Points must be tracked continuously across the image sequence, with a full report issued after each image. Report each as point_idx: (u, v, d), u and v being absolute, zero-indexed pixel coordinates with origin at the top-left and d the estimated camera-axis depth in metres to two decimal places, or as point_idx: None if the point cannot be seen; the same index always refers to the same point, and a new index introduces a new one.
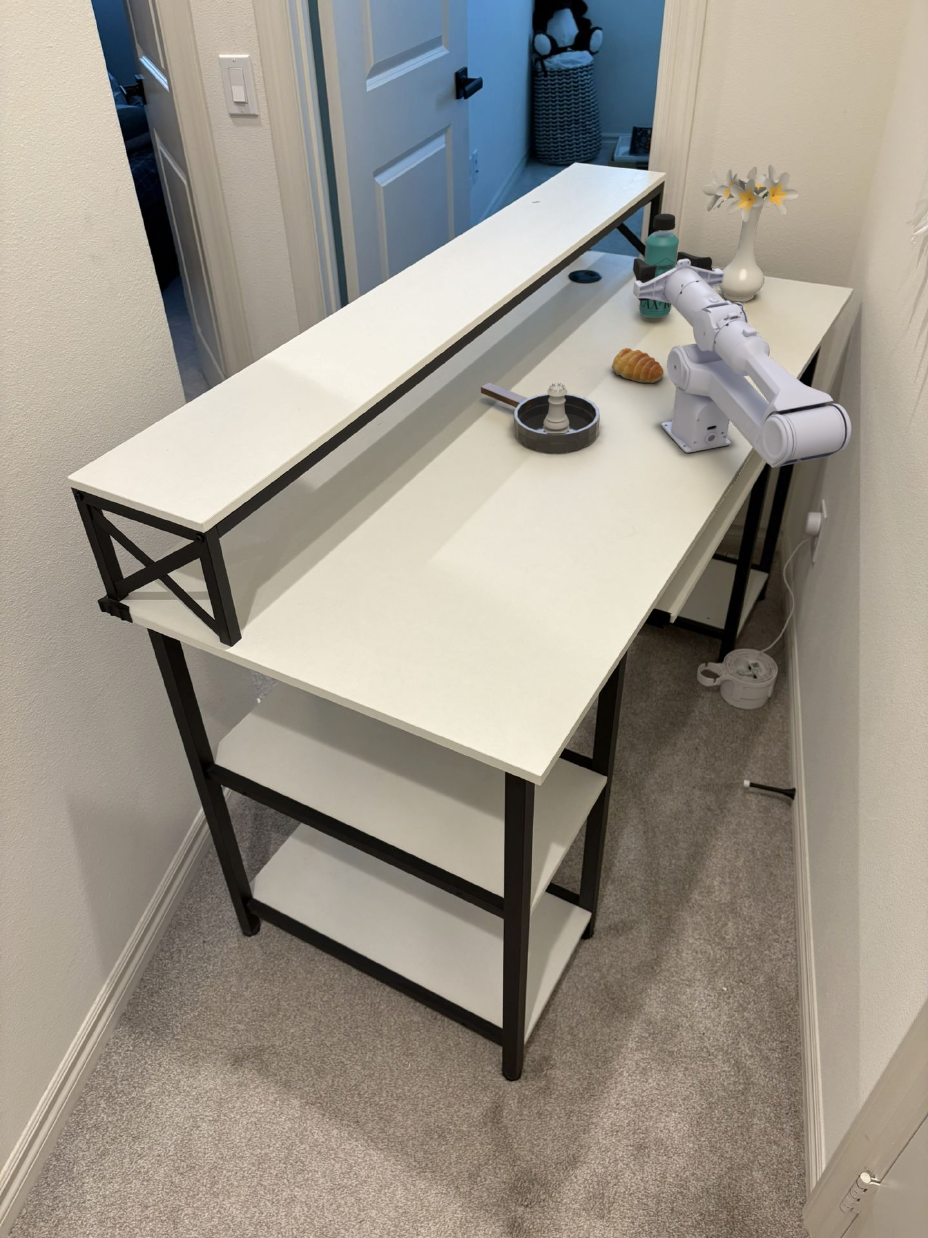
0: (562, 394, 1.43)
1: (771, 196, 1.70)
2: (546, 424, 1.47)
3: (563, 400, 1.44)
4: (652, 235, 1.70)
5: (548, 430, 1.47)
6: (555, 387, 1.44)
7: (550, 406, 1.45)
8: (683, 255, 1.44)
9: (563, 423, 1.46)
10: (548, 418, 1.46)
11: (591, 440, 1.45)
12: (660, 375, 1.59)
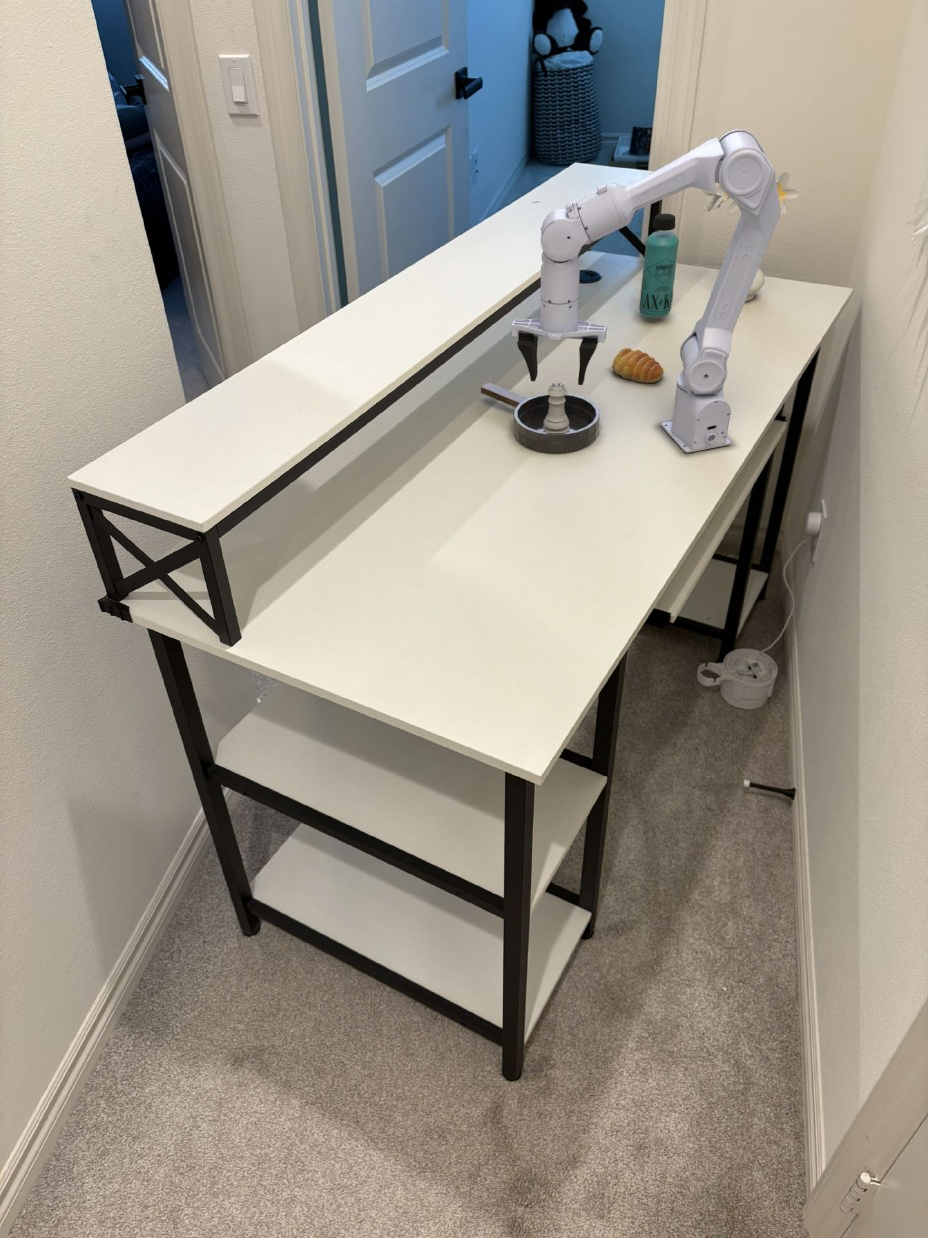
0: (562, 394, 1.43)
1: None
2: (546, 424, 1.47)
3: (563, 400, 1.44)
4: (652, 235, 1.70)
5: (548, 430, 1.47)
6: (555, 387, 1.44)
7: (550, 406, 1.45)
8: (534, 370, 1.41)
9: (563, 423, 1.46)
10: (548, 418, 1.46)
11: (591, 440, 1.45)
12: (660, 375, 1.59)
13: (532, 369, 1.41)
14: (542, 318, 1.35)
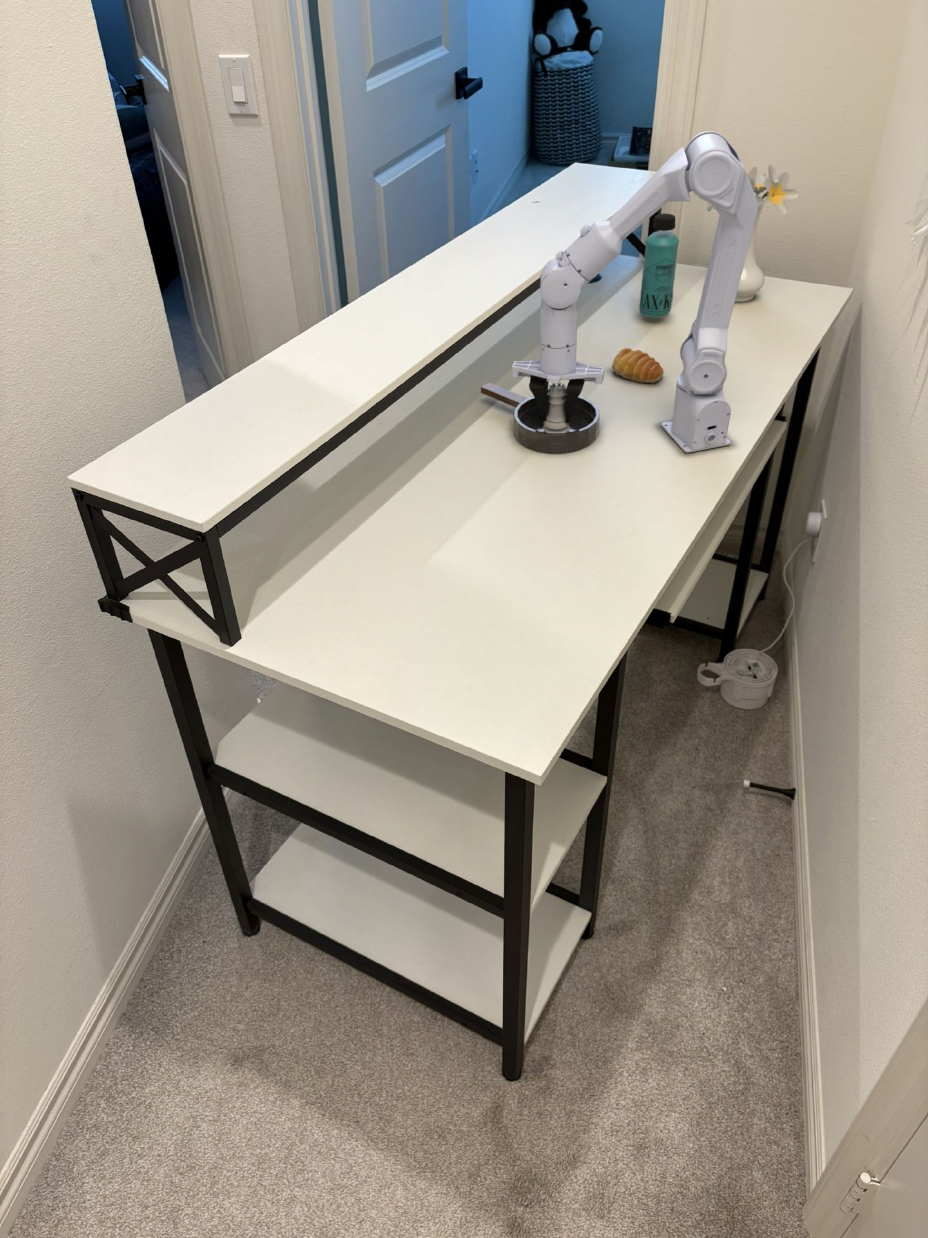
0: (562, 394, 1.43)
1: (771, 196, 1.70)
2: (546, 424, 1.47)
3: (563, 400, 1.44)
4: (652, 235, 1.70)
5: (548, 430, 1.47)
6: (555, 387, 1.44)
7: (550, 406, 1.45)
8: (545, 410, 1.45)
9: (563, 423, 1.46)
10: (548, 418, 1.46)
11: (591, 440, 1.45)
12: (660, 375, 1.59)
13: (543, 409, 1.45)
14: (541, 361, 1.39)
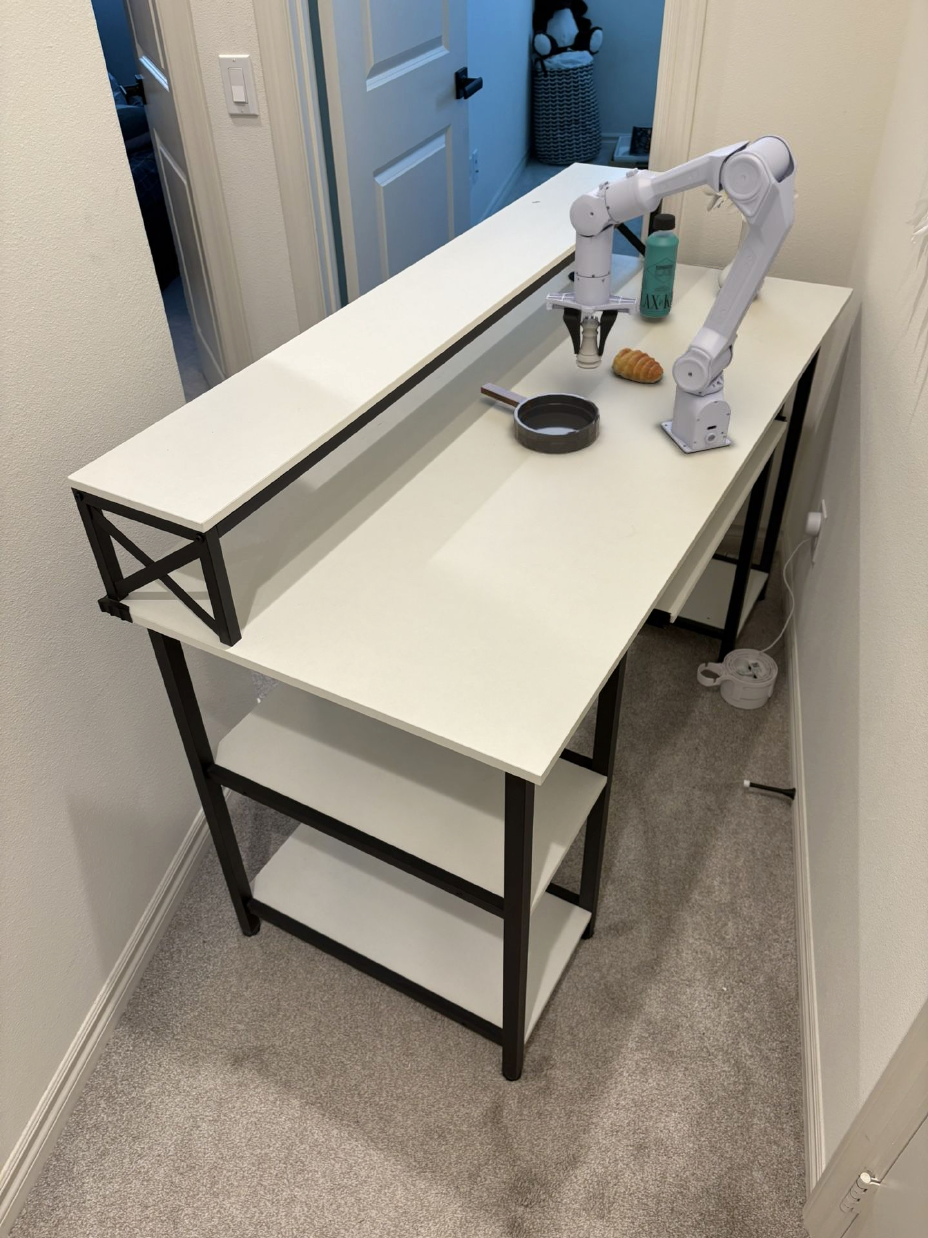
0: (595, 326, 1.45)
1: None
2: (579, 358, 1.49)
3: (596, 332, 1.46)
4: (652, 235, 1.70)
5: (581, 363, 1.49)
6: (588, 319, 1.46)
7: (583, 339, 1.47)
8: (578, 343, 1.47)
9: (595, 356, 1.48)
10: (581, 351, 1.48)
11: (591, 440, 1.45)
12: (660, 375, 1.59)
13: (576, 342, 1.47)
14: (576, 292, 1.41)
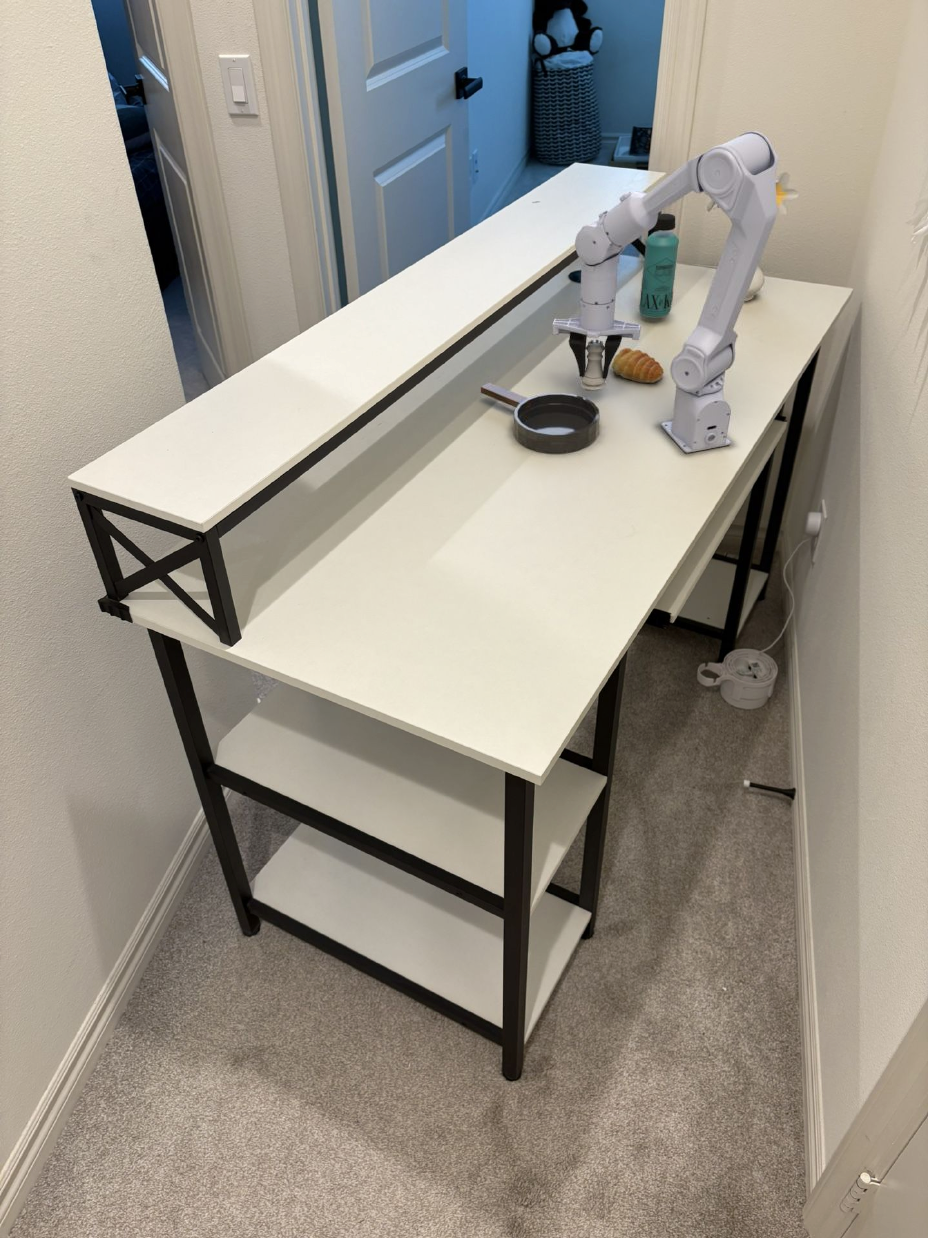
0: (600, 350, 1.50)
1: None
2: (584, 380, 1.54)
3: (601, 356, 1.51)
4: (652, 235, 1.70)
5: (586, 386, 1.54)
6: (593, 344, 1.51)
7: (588, 362, 1.52)
8: (583, 366, 1.52)
9: (600, 378, 1.53)
10: (586, 374, 1.53)
11: (591, 440, 1.45)
12: (660, 375, 1.59)
13: (581, 365, 1.52)
14: (581, 317, 1.46)
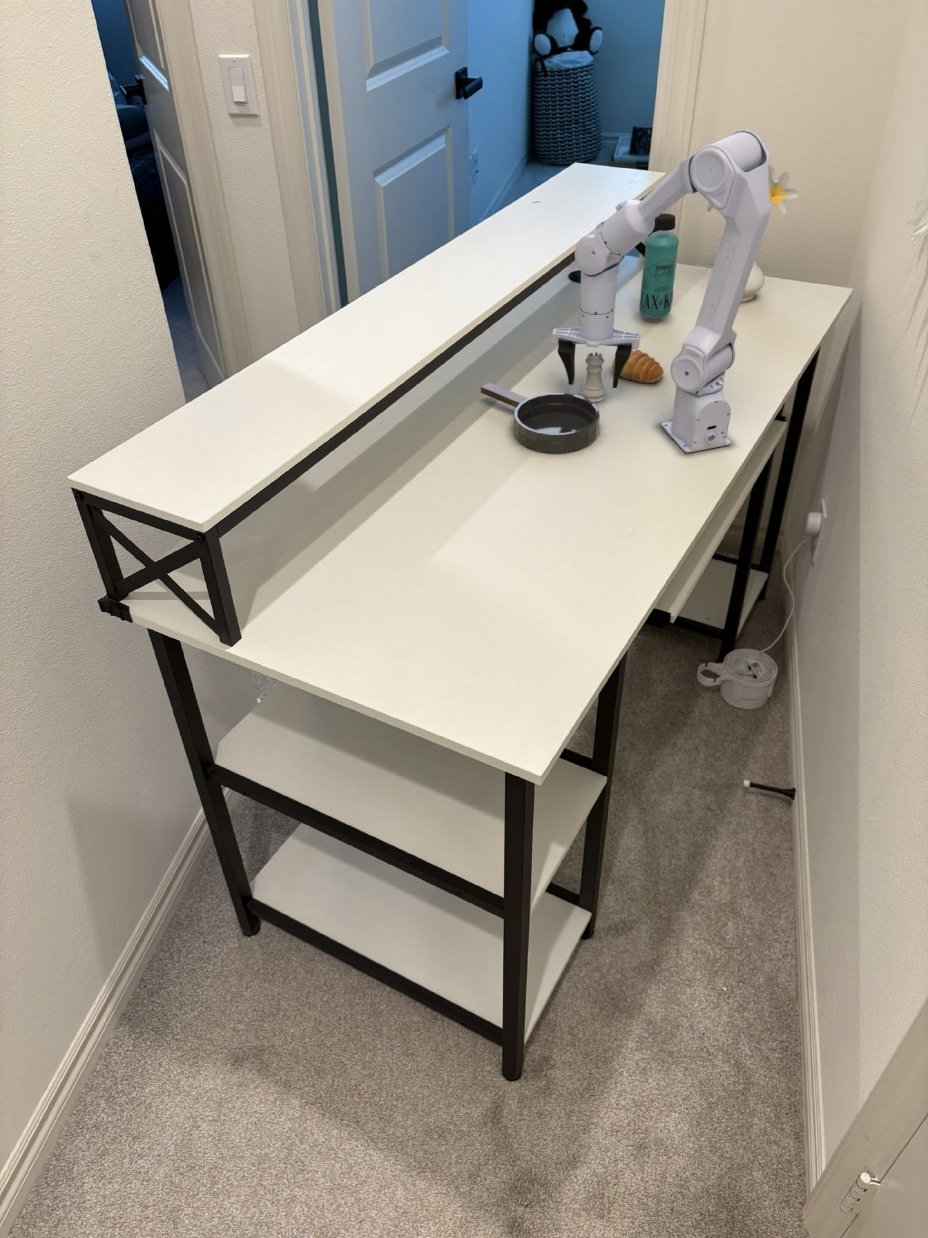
0: (600, 363, 1.51)
1: (771, 196, 1.70)
2: (583, 392, 1.55)
3: (600, 369, 1.53)
4: (652, 235, 1.70)
5: None
6: (593, 356, 1.52)
7: (588, 374, 1.54)
8: (572, 375, 1.54)
9: (599, 390, 1.55)
10: (585, 386, 1.55)
11: (591, 440, 1.45)
12: (660, 375, 1.59)
13: (570, 373, 1.54)
14: (581, 327, 1.47)
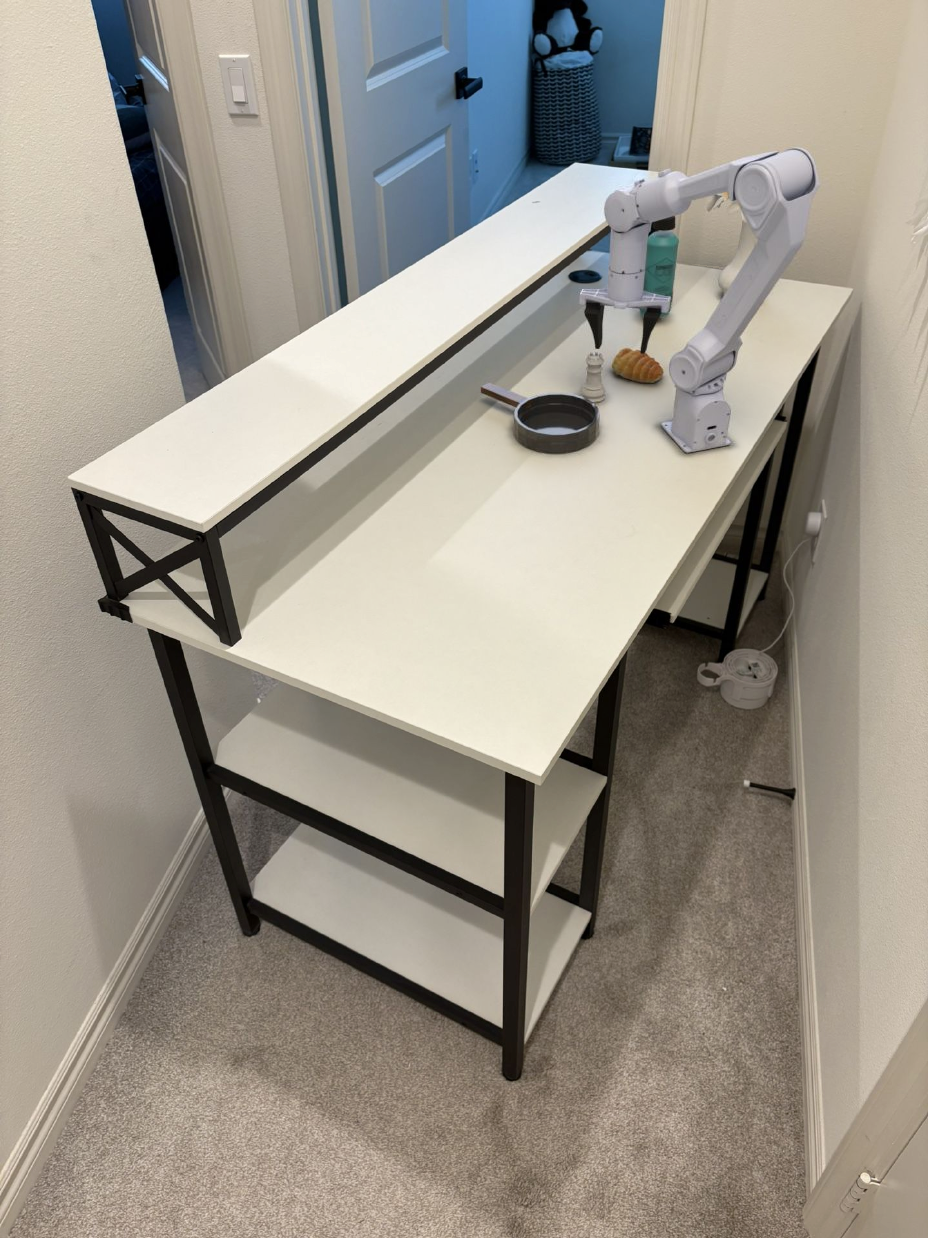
0: (600, 363, 1.51)
1: None
2: (583, 392, 1.55)
3: (600, 369, 1.53)
4: (652, 235, 1.70)
5: None
6: (593, 356, 1.52)
7: (588, 374, 1.54)
8: (599, 338, 1.49)
9: (599, 390, 1.55)
10: (585, 386, 1.55)
11: (591, 440, 1.45)
12: (660, 375, 1.59)
13: (597, 337, 1.49)
14: (609, 287, 1.42)
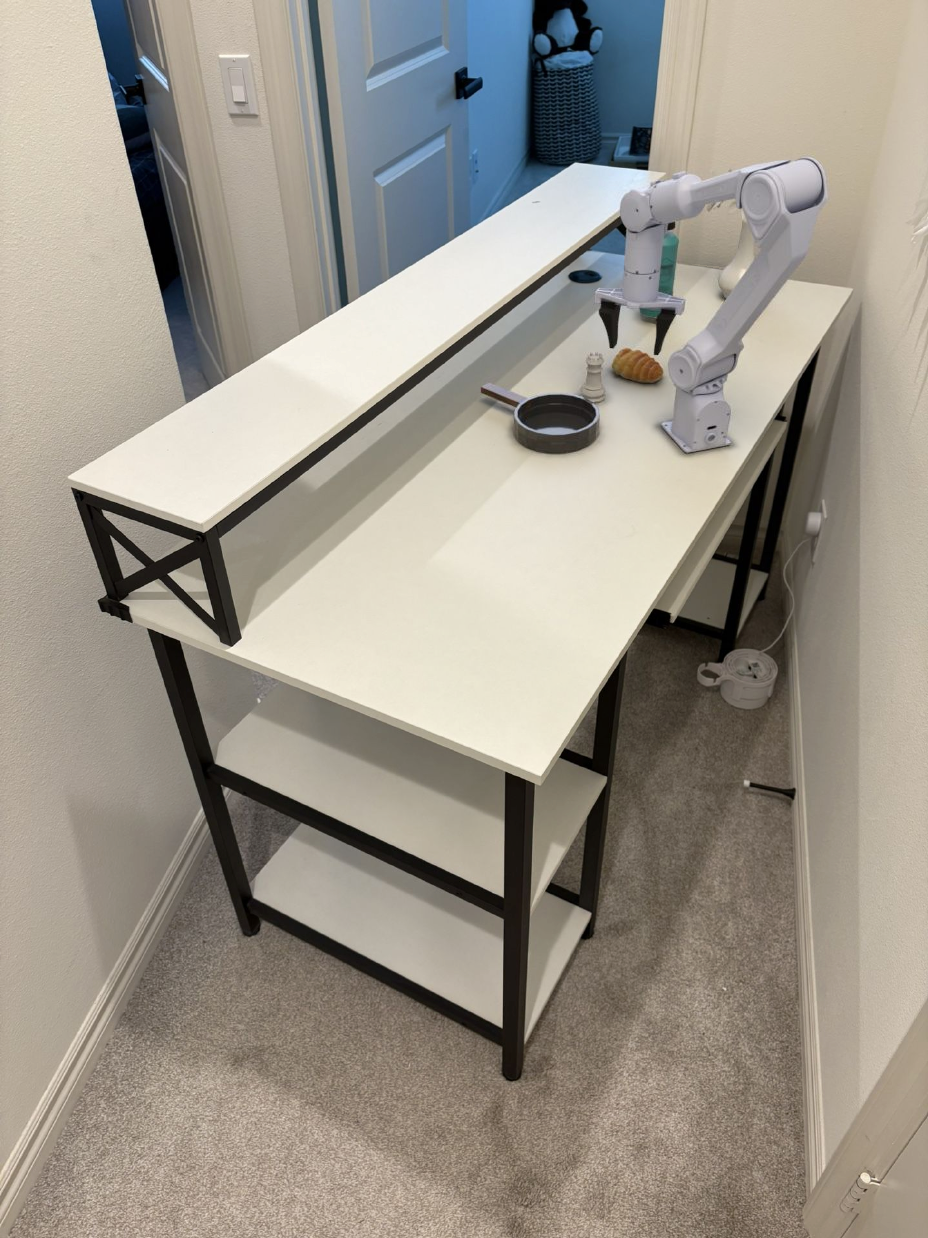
0: (600, 363, 1.51)
1: None
2: (583, 392, 1.55)
3: (600, 369, 1.53)
4: None
5: (585, 397, 1.56)
6: (593, 356, 1.52)
7: (588, 374, 1.54)
8: (613, 338, 1.49)
9: (599, 390, 1.55)
10: (585, 386, 1.55)
11: (591, 440, 1.45)
12: (660, 375, 1.59)
13: (611, 336, 1.48)
14: (623, 287, 1.42)
